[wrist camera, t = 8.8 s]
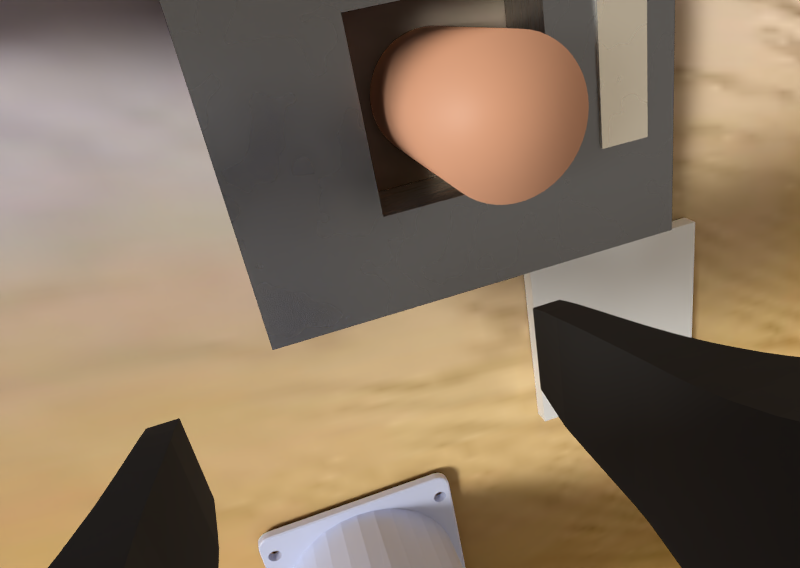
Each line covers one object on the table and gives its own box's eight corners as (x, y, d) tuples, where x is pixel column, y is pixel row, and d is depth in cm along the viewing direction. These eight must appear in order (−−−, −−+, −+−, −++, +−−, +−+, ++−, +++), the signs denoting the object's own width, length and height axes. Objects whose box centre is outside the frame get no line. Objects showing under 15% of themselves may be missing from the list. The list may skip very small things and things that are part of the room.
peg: (499, 134, 21) (597, 174, 15) (389, 172, 20) (451, 227, 15) (475, 9, 19) (577, 6, 14) (354, 47, 18) (411, 59, 13)
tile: (681, 363, 27) (690, 370, 27) (538, 413, 26) (544, 421, 25) (684, 217, 24) (695, 222, 24) (522, 265, 23) (530, 271, 22)
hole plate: (628, 210, 23) (673, 230, 21) (266, 315, 21) (273, 351, 19) (620, -171, 18) (680, -199, 16) (137, -88, 16) (124, -106, 13)
